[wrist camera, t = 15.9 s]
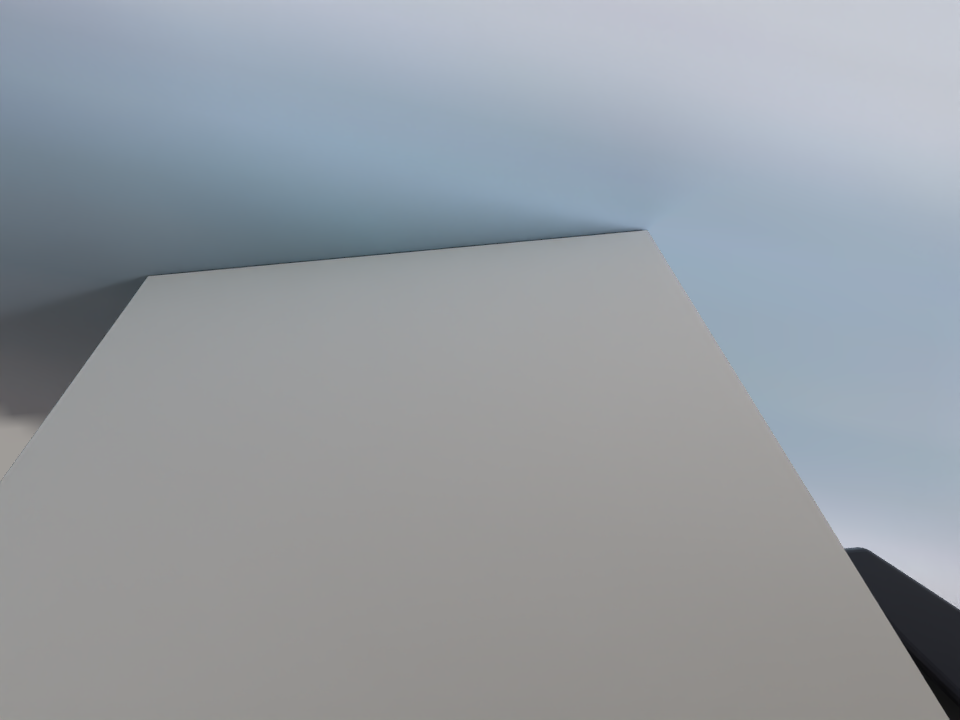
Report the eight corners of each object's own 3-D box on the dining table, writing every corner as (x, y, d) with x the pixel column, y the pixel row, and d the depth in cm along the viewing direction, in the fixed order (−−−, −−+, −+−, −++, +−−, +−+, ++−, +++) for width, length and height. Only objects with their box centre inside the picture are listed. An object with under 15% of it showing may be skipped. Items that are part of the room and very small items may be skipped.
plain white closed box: (642, 601, 17) (821, 1216, 9) (250, 637, 17) (95, 1286, 9) (647, 230, 13) (954, 729, 5) (148, 276, 13) (-260, 842, 5)
